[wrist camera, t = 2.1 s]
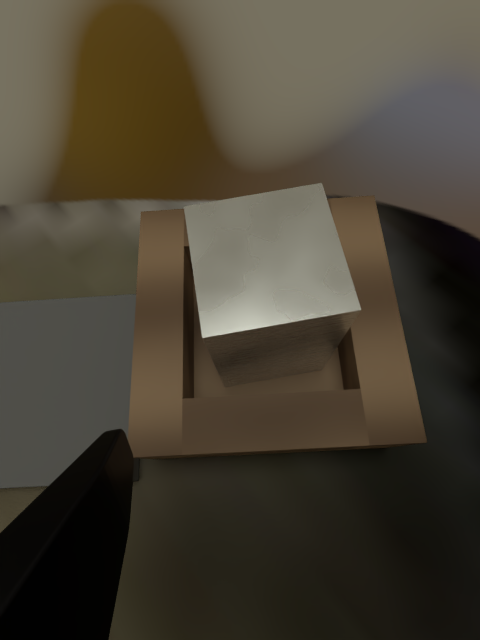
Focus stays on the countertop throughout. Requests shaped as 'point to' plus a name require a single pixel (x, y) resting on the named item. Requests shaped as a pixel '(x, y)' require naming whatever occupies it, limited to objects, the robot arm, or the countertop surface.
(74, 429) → the rubber pad
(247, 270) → the steel peg
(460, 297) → the countertop surface
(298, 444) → the brown square tray
